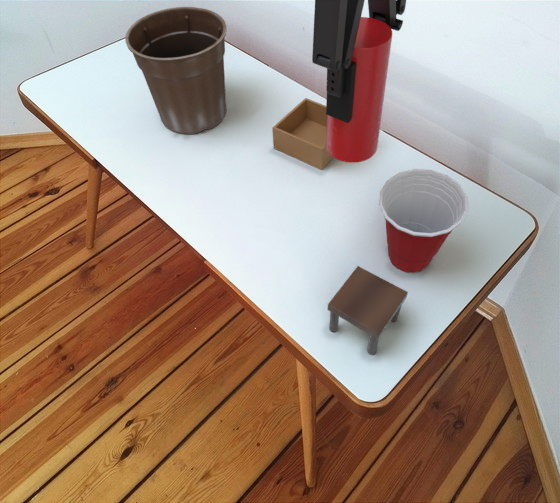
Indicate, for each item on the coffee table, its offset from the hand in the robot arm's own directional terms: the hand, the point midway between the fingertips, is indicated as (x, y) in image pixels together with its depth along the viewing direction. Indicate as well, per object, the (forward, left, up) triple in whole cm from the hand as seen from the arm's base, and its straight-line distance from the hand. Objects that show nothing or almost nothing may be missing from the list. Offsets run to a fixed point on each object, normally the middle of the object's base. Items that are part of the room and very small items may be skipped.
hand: (355, 100), depth 56 cm
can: (0, 0, -6) cm, 6 cm away
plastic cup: (-9, -3, -24) cm, 26 cm away
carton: (+16, -16, -24) cm, 33 cm away
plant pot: (+39, -11, -25) cm, 47 cm away
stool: (-9, +10, -24) cm, 28 cm away
